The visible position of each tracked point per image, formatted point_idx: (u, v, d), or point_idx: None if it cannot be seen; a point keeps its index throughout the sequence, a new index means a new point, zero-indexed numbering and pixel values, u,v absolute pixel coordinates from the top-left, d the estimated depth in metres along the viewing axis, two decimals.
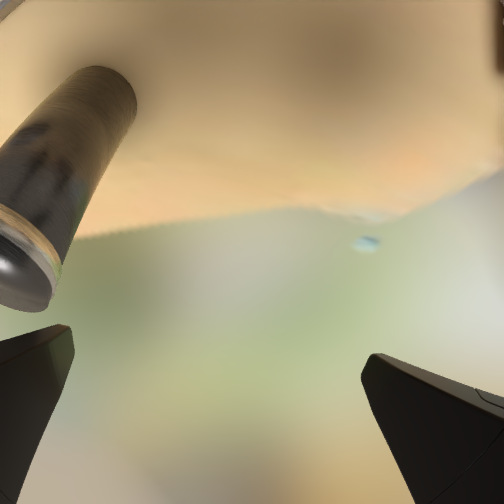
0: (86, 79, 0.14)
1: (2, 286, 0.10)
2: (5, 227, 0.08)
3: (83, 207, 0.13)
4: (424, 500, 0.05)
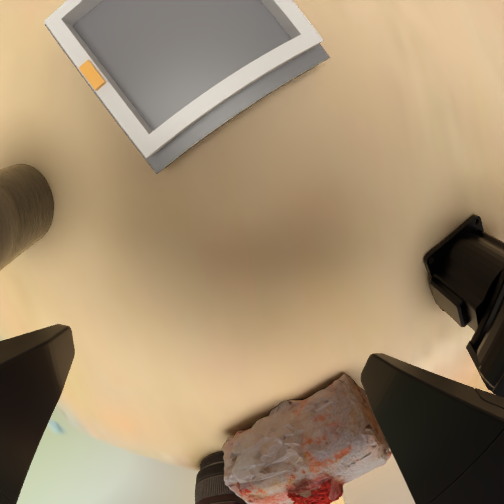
0: (38, 207, 0.16)
1: None
2: None
3: None
4: (424, 500, 0.05)
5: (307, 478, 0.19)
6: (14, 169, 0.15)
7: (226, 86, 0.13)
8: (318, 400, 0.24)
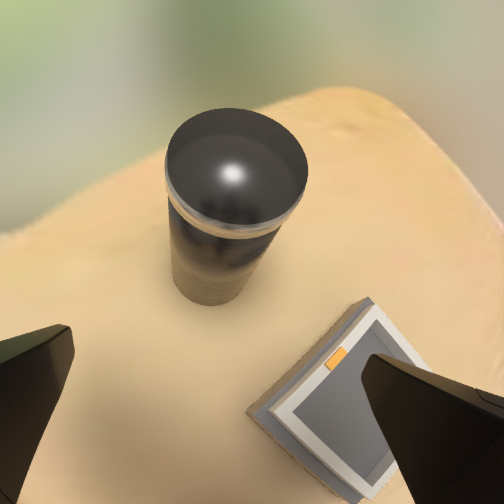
0: (216, 298, 0.21)
1: (226, 145, 0.12)
2: (207, 223, 0.11)
3: None
4: (424, 500, 0.05)
5: None
6: None
7: (330, 456, 0.16)
8: None
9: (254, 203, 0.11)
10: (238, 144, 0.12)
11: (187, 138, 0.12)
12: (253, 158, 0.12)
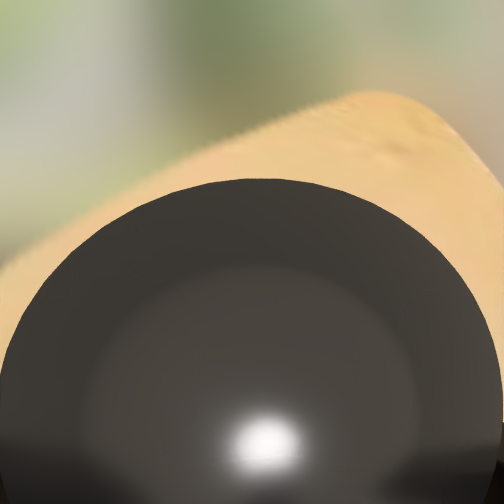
0: None
1: (250, 428, 0.02)
2: None
3: None
4: None
5: None
6: None
7: None
8: None
9: None
10: (307, 409, 0.02)
11: (59, 388, 0.02)
12: (368, 467, 0.02)
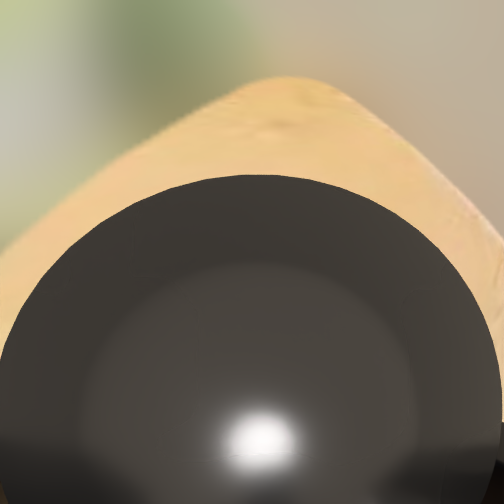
0: None
1: (247, 424, 0.02)
2: None
3: None
4: None
5: None
6: None
7: None
8: None
9: None
10: (304, 405, 0.02)
11: (55, 383, 0.02)
12: (367, 465, 0.02)
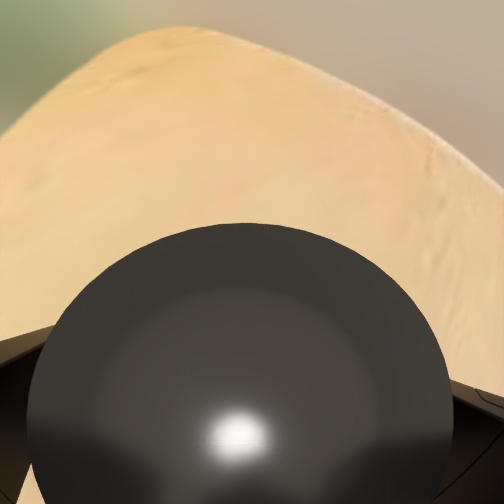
0: None
1: (221, 420, 0.03)
2: None
3: None
4: None
5: None
6: None
7: None
8: None
9: None
10: (265, 408, 0.03)
11: (79, 390, 0.03)
12: (317, 458, 0.03)
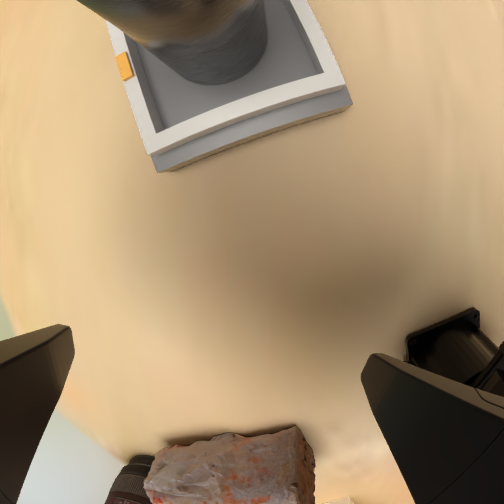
0: (252, 53, 0.12)
1: None
2: None
3: (101, 16, 0.07)
4: (424, 500, 0.05)
5: None
6: None
7: (236, 107, 0.14)
8: (260, 442, 0.22)
9: None
10: None
11: None
12: None
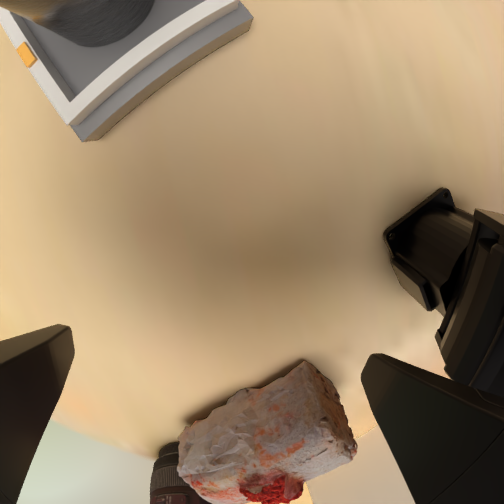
0: None
1: None
2: None
3: None
4: (424, 500, 0.05)
5: (259, 473, 0.18)
6: None
7: (139, 51, 0.12)
8: (275, 388, 0.23)
9: None
10: None
11: None
12: None
